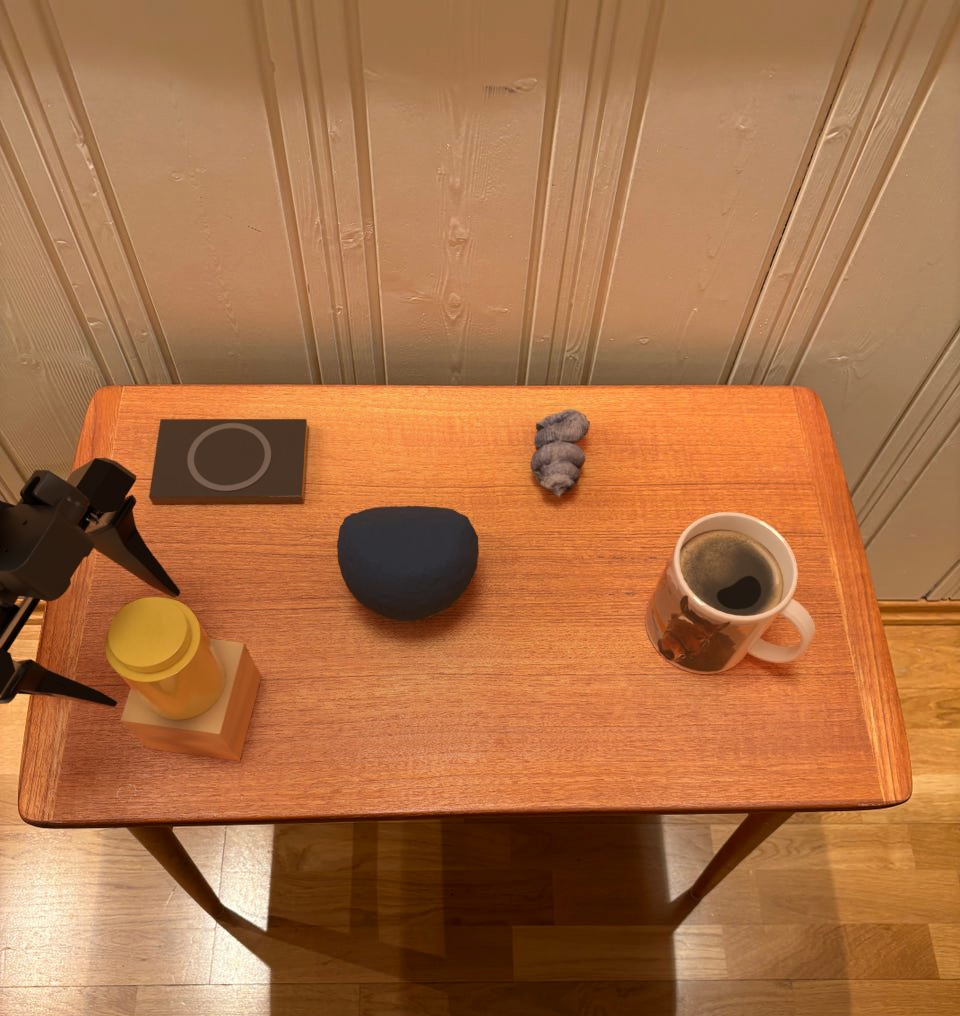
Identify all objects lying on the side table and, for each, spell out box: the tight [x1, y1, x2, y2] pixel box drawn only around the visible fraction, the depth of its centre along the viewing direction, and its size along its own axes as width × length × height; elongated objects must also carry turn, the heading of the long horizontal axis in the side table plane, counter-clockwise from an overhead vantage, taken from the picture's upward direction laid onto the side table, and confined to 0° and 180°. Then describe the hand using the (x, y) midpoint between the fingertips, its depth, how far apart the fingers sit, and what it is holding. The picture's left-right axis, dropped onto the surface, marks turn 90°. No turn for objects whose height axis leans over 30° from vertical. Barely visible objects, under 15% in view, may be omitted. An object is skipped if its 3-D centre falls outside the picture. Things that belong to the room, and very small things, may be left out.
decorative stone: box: [336, 505, 480, 623], centre depth 74 cm, size 12×12×10 cm
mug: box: [644, 511, 816, 675], centre depth 73 cm, size 10×12×11 cm
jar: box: [104, 596, 226, 720], centre depth 62 cm, size 6×6×9 cm
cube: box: [120, 637, 262, 762], centre depth 70 cm, size 8×8×7 cm
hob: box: [148, 418, 309, 505], centre depth 83 cm, size 14×9×1 cm, turn 92°
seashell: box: [530, 408, 591, 498], centre depth 83 cm, size 5×5×10 cm
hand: (146, 648), depth 62 cm, fingers open, 9 cm apart
